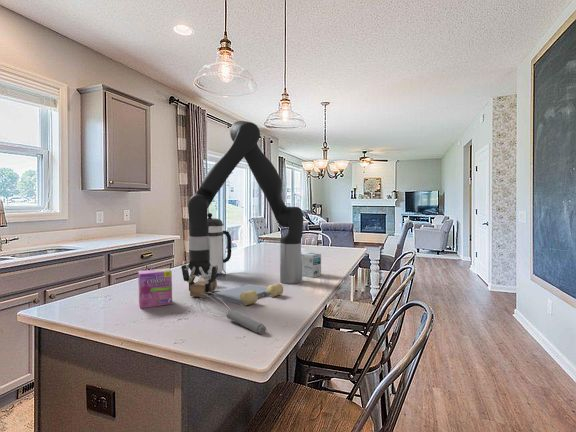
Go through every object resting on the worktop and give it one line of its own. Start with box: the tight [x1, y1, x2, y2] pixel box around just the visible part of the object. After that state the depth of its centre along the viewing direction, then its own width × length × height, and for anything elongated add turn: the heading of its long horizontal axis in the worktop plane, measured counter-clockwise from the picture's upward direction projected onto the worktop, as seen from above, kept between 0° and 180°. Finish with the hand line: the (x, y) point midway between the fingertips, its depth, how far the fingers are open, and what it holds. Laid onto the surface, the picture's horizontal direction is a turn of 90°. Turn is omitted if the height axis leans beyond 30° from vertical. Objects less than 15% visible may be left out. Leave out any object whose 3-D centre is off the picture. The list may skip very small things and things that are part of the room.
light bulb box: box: [301, 251, 322, 278], centre depth 165 cm, size 11×7×11 cm, turn 49°
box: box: [137, 267, 173, 309], centre depth 118 cm, size 10×6×12 cm, turn 118°
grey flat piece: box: [213, 282, 284, 306], centre depth 128 cm, size 18×18×4 cm
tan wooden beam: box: [189, 278, 218, 298], centre depth 132 cm, size 12×6×4 cm, turn 169°
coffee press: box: [196, 212, 232, 277], centre depth 165 cm, size 17×16×30 cm
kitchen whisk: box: [195, 292, 270, 336], centre depth 102 cm, size 6×34×6 cm, turn 46°
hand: (199, 292), depth 128 cm, fingers closed on tan wooden beam, 5 cm apart
